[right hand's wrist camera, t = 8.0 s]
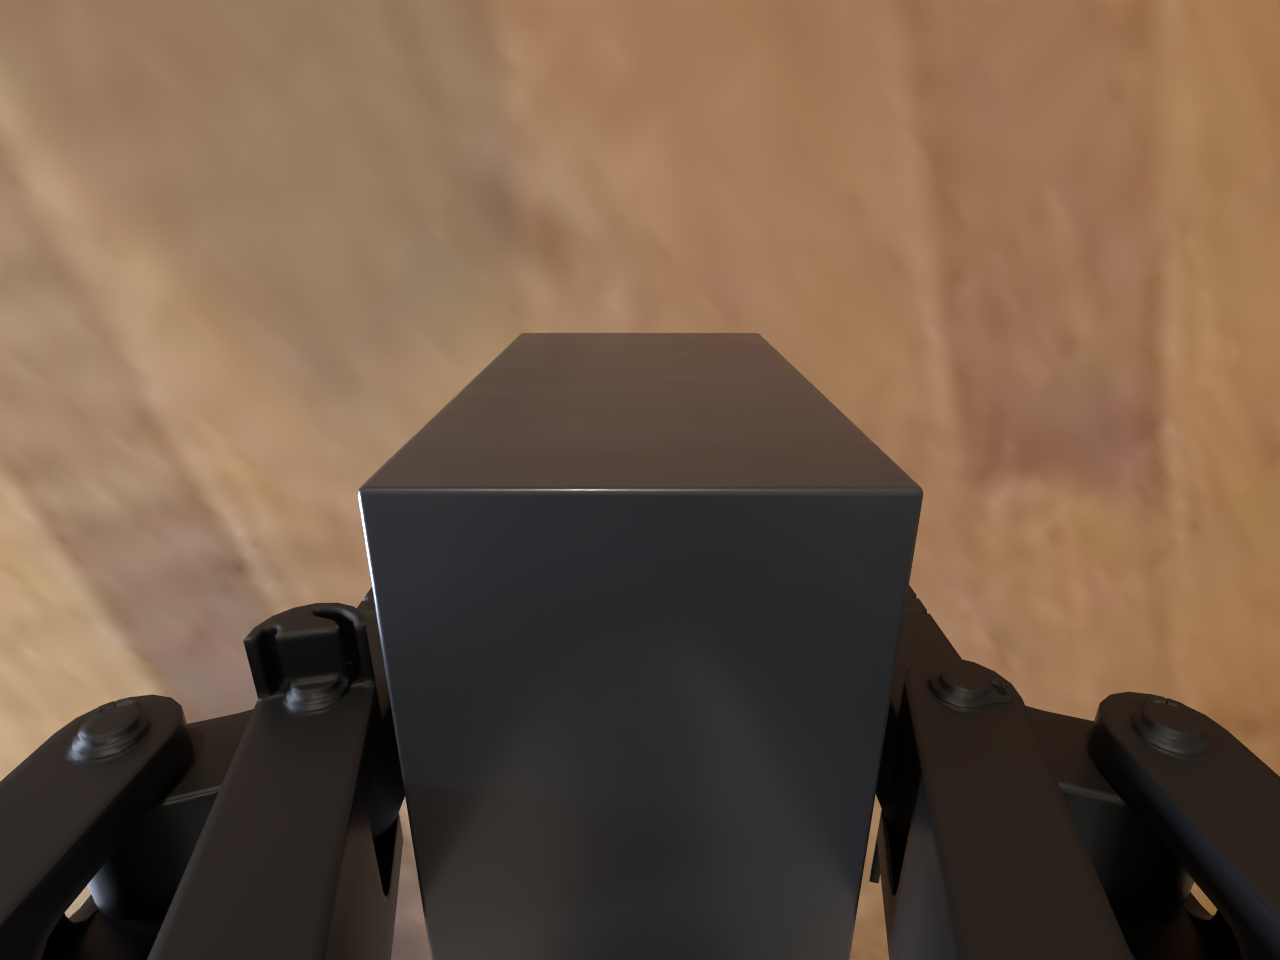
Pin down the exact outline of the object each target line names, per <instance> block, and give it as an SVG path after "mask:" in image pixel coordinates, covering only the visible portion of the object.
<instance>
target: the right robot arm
mask: <svg viewBox="0 0 1280 960" xmlns="http://www.w3.org/2000/svg"><path fill="white" fill-rule="evenodd" d="M243 641H244V645H245V649H246V653H247V657H248V660H249V664H250V668H251V672H252V676H253V680H254V684H255V688H256V692H257V695H258V701H257V703H256V706H255V708H254V709H252V710H249V711H245V712H241V713H238V714H233V715H228V716H224V717H219V718H214V719H209V720H205V721H200V722H195V723H190V724H187V722H186V719H185V716H184V713H183V709H182V706H181V705H180V704H178V703H177V702H176V701H175V700H174V699H172V698H170V697H164V696H158V695H146V696H137V697H129V698H125V699H121V700H117V701H116V702H114V701H113V702H110V703H107V704H104V705H102V706H100V707H98V708H96V709H94V710H92V711H90V712H88V713H86V714H84V715H82V716H80V717H77V718H76V719H74V720H73V721H72V722H70V723H69V724H67V725H66V726H65V727H63V728H62V729H60V730H59V731H57V732H56V733H55V734H54V735H52V736H51V737H50V738H49V739H48V740H47V741H46V742H45V743H43V744H42V745H41V746H40V747H39V748H38V749H37V750H36V751H34V752H33V753H32V754H31V755H30V756H29V757H28V758H27V759H25V760H24V761H23V762H22V763H21V764H20V765H19V766H18V767H16V768H15V769H14V770H13V771H12V772H11V773H10V774H9V775H7V776H6V777H5V778H4V779H3V780H2V781H1V782H0V960H391V953H392V943H393V933H394V923H395V914H396V904H397V894H398V885H399V875H400V865H401V855H402V846H403V835H402V829H401V823H400V817H399V810H400V807H401V805H402V802H403V800H404V797H405V791H404V784H403V778H402V772H401V766H400V759H399V753H398V747H397V740H396V734H395V728H394V721H393V715H392V709H391V702H390V696H389V690H388V683H387V677H386V671H385V664H384V658H383V652H382V645H381V639H380V633H379V626H378V620H377V614H376V607H375V601H374V595H373V588H372V587H371V589H370V590H369V592H368V593H367V595H366V596H365V600H364V601H362V602H361V603H360V605H359V606H358V607H357V609H356V608H355V607H353V606H349V605H345V604H340V603H315V604H310V605H306V606H301V607H296V608H292V609H290V610H287V611H285V612H282V613H280V614H277V615H274V616H272V617H270V618H269V619H267V620H266V621H264V622H263V623H261V624H259V625H258V626H256V627H255V628H254V629H253V630H252V631H251V632H250V633H249V635H248V636H247V637H246V638H245V639H244V640H243ZM876 795H877V798H878V800H879V803H880V805H881V808H882V811H881V817H880V823H879V828H878V834H877V840H876V845H875V851H874V857H873V862H872V868H871V875H870V882H875V883H879V878H880V873H881V883H882V893H883V902H884V912H885V922H886V931H887V941H888V951H889V960H1280V777H1279V776H1278V775H1277V774H1276V773H1275V772H1274V771H1273V770H1271V769H1270V768H1269V767H1268V766H1267V765H1266V764H1265V763H1264V762H1262V761H1261V760H1260V759H1259V758H1258V757H1257V756H1256V755H1254V754H1253V753H1252V752H1251V751H1250V750H1249V749H1248V748H1246V747H1245V746H1244V745H1243V744H1242V743H1241V742H1240V741H1239V740H1237V739H1236V738H1235V737H1234V736H1233V735H1232V734H1231V733H1229V732H1228V731H1227V730H1226V729H1224V728H1223V727H1222V726H1220V725H1219V724H1217V723H1216V722H1214V721H1213V720H1212V719H1210V718H1209V717H1207V716H1206V715H1204V714H1202V713H1200V712H1198V711H1196V710H1194V709H1192V708H1190V707H1187V706H1185V705H1184V704H1182V703H1180V702H1177V701H1174V700H1171V699H1166V698H1164V697H1161V696H1156V695H1152V694H1144V693H1134V692H1124V693H1118V694H1112V695H1109V696H1108V697H1107V698H1106V699H1104V700H1103V701H1102V702H1101V703H1100V705H1099V708H1098V711H1097V714H1096V717H1095V721H1090V720H1085V719H1080V718H1076V717H1071V716H1066V715H1061V714H1056V713H1052V712H1047V711H1042V710H1039V709H1035V708H1031V707H1028V706H1025V704H1024V702H1023V700H1022V698H1021V696H1020V695H1019V694H1018V692H1017V691H1016V689H1015V688H1014V687H1013V685H1012V684H1011V683H1010V682H1008V681H1007V680H1005V679H1004V678H1003V677H1001V676H1000V675H999V674H997V673H996V672H995V671H992V670H990V669H988V668H986V667H983V666H981V665H979V664H977V663H974V662H970V661H966V660H962V659H961V657H960V656H959V655H958V653H957V652H956V650H955V649H954V647H953V646H952V645H951V643H950V642H949V640H948V639H947V638H946V636H945V635H944V633H943V632H942V631H941V629H940V628H939V626H938V625H937V624H936V622H935V621H934V619H933V618H932V616H931V615H930V614H927V609H926V608H925V607H924V605H923V604H922V602H921V601H920V600H919V599H916V594H915V593H914V591H913V590H912V588H911V587H910V586H908V593H907V599H906V605H905V612H904V618H903V624H902V630H901V637H900V643H899V649H898V656H897V662H896V668H895V674H894V681H893V687H892V693H891V700H890V706H889V712H888V718H887V725H886V731H885V737H884V744H883V750H882V756H881V762H880V769H879V775H878V781H877V788H876ZM1194 881H1195V883H1196V884H1197V885H1198V886H1199V887H1200V889H1201V890H1202V891H1203V892H1204V893H1205V895H1206V896H1207V897H1208V898H1209V899H1210V901H1211V902H1212V903H1213V904H1214V905H1215V907H1216V908H1217V909H1218V910H1217V912H1216V914H1215V915H1214V916H1212V915H1211V914H1210V913H1209V912H1208V911H1207V910H1206V909H1205V908H1203V907H1202V906H1201V904H1200V903H1199V902H1198V901H1197V899H1196V898H1195V897H1194V896H1193V895H1192V893H1191V892H1190V890H1191V888H1192V886H1193V883H1194ZM87 885H88V887H89V889H90V891H91V895H90V897H89V898H88V899H87V900H86V902H85V903H84V904H83V905H82V906H81V908H80V909H79V910H77V911H76V912H75V913H74V914H73V915H72V916H71V917H70V918H67V917H66V915H65V913H64V912H65V911H66V910H67V909H68V908H69V906H70V905H71V904H72V903H73V902H74V900H75V899H76V898H77V897H78V895H79V894H80V893H81V892H82V891H83V889H84V888H85V887H86V886H87Z"/></svg>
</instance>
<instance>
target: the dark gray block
mask: <svg viewBox="0 0 1280 960" xmlns="http://www.w3.org/2000/svg"><path fill="white" fill-rule="evenodd" d="M922 498H923V491H922V488H921V487H920V486H919V485H918V484H917V483H916V482H914V481H913V480H912V479H911V478H910V477H909V476H908V475H907V474H906V473H905V472H904V471H903V470H902V469H901V468H900V467H899V466H898V465H897V464H896V463H894V462H893V461H892V460H891V459H890V458H889V457H888V456H887V455H886V454H885V453H884V452H883V451H882V450H881V449H880V448H879V447H878V446H877V445H876V444H874V443H873V442H872V441H871V440H870V439H869V438H868V437H867V436H866V435H865V434H864V433H863V432H862V431H861V430H860V429H859V428H858V427H857V426H855V425H854V424H853V423H852V422H851V421H850V420H849V419H848V418H847V417H846V416H845V415H844V414H843V413H842V412H841V411H840V410H839V409H838V408H837V407H835V406H834V405H833V404H832V403H831V402H830V401H829V400H828V399H827V398H826V397H825V396H824V395H823V394H822V393H821V392H820V391H819V390H818V389H817V388H815V387H814V386H813V385H812V384H811V383H810V382H809V381H808V380H807V379H806V378H805V377H804V376H803V375H802V374H801V373H800V372H799V371H798V370H796V369H795V368H794V367H793V366H792V365H791V364H790V363H789V362H788V361H787V360H786V359H785V358H784V357H783V356H782V355H781V354H780V353H779V352H778V351H776V350H775V349H774V348H773V347H772V346H771V345H770V344H769V343H768V342H767V341H766V340H765V339H764V338H763V337H762V336H761V335H760V334H758V333H522V334H521V335H520V336H518V337H517V338H516V339H515V340H514V341H513V342H512V343H511V344H510V345H509V346H508V347H507V348H506V349H505V350H504V351H503V352H502V353H501V354H500V355H499V356H497V357H496V358H495V359H494V360H493V361H492V362H491V363H490V364H489V365H488V366H487V367H486V368H485V369H484V370H483V371H482V372H481V373H480V374H479V375H478V376H476V377H475V378H474V379H473V380H472V381H471V382H470V383H469V384H468V385H467V386H466V387H465V388H464V389H463V390H462V391H461V392H460V393H459V394H458V395H456V396H455V397H454V398H453V399H452V400H451V401H450V402H449V403H448V404H447V405H446V406H445V407H444V408H443V409H442V410H441V411H440V412H439V413H438V414H437V415H435V416H434V417H433V418H432V419H431V420H430V421H429V422H428V423H427V424H426V425H425V426H424V427H423V428H422V429H421V430H420V431H419V432H418V433H417V434H416V435H414V436H413V437H412V438H411V439H410V440H409V441H408V442H407V443H406V444H405V445H404V446H403V447H402V448H401V449H400V450H399V451H398V452H397V453H396V454H394V455H393V456H392V457H391V458H390V459H389V460H388V461H387V462H386V463H385V464H384V465H383V466H382V467H381V468H380V469H379V470H378V471H377V472H376V473H375V474H373V475H372V476H371V477H370V478H369V479H368V480H367V481H366V482H365V483H364V484H363V485H362V486H361V487H360V488H359V490H358V500H359V506H360V513H361V519H362V525H363V531H364V538H365V544H366V550H367V557H368V563H369V569H370V576H371V582H372V588H373V595H374V601H375V607H376V614H377V620H378V626H379V633H380V639H381V645H382V652H383V658H384V664H385V671H386V677H387V683H388V690H389V696H390V702H391V709H392V715H393V721H394V728H395V734H396V740H397V747H398V753H399V759H400V766H401V772H402V778H403V784H404V791H405V797H406V803H407V810H408V816H409V822H410V829H411V835H412V841H413V848H414V854H415V860H416V867H417V873H418V879H419V886H420V892H421V898H422V905H423V911H424V917H425V924H426V930H427V936H428V943H429V949H430V955H431V960H849V957H850V951H851V945H852V938H853V932H854V926H855V920H856V913H857V907H858V901H859V894H860V888H861V882H862V876H863V869H864V863H865V857H866V850H867V844H868V838H869V832H870V825H871V819H872V813H873V806H874V800H875V794H876V788H877V781H878V775H879V769H880V762H881V756H882V750H883V744H884V737H885V731H886V725H887V718H888V712H889V706H890V700H891V693H892V687H893V681H894V674H895V668H896V662H897V656H898V649H899V643H900V637H901V630H902V624H903V618H904V612H905V605H906V599H907V593H908V586H909V580H910V574H911V568H912V561H913V555H914V549H915V542H916V536H917V530H918V524H919V517H920V511H921V505H922Z"/></svg>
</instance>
